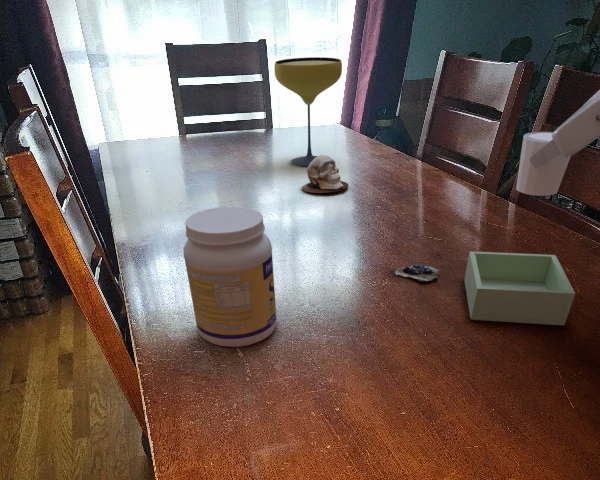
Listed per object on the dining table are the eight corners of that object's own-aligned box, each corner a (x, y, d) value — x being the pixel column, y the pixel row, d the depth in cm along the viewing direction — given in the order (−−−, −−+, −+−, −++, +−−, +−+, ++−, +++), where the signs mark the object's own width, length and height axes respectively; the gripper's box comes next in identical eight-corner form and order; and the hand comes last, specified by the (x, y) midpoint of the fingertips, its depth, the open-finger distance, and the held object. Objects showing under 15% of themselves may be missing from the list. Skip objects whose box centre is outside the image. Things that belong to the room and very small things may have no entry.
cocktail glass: (277, 155, 157) (271, 59, 142) (334, 152, 159) (336, 56, 143) (281, 172, 143) (276, 66, 128) (345, 168, 145) (347, 63, 129)
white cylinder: (566, 186, 74) (582, 133, 70) (556, 199, 70) (572, 144, 65) (518, 180, 77) (530, 128, 73) (505, 192, 73) (517, 138, 68)
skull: (361, 183, 129) (342, 156, 121) (337, 217, 130) (316, 192, 122) (331, 171, 137) (311, 145, 129) (309, 204, 138) (287, 180, 130)
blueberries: (436, 286, 87) (437, 276, 86) (389, 280, 89) (390, 270, 88) (441, 269, 92) (443, 260, 91) (397, 264, 94) (398, 254, 93)
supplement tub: (286, 342, 75) (280, 228, 64) (203, 357, 72) (183, 241, 62) (266, 303, 84) (258, 199, 73) (192, 316, 81) (173, 209, 71)
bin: (546, 284, 87) (555, 254, 83) (564, 325, 76) (575, 293, 73) (464, 280, 89) (469, 251, 85) (470, 319, 78) (477, 288, 75)
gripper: (653, 114, 54) (534, 195, 65) (668, 87, 67) (567, 158, 78) (622, 63, 53) (506, 153, 64) (643, 46, 67) (544, 123, 77)
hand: (540, 156), depth 71 cm, fingers closed on white cylinder, 7 cm apart
